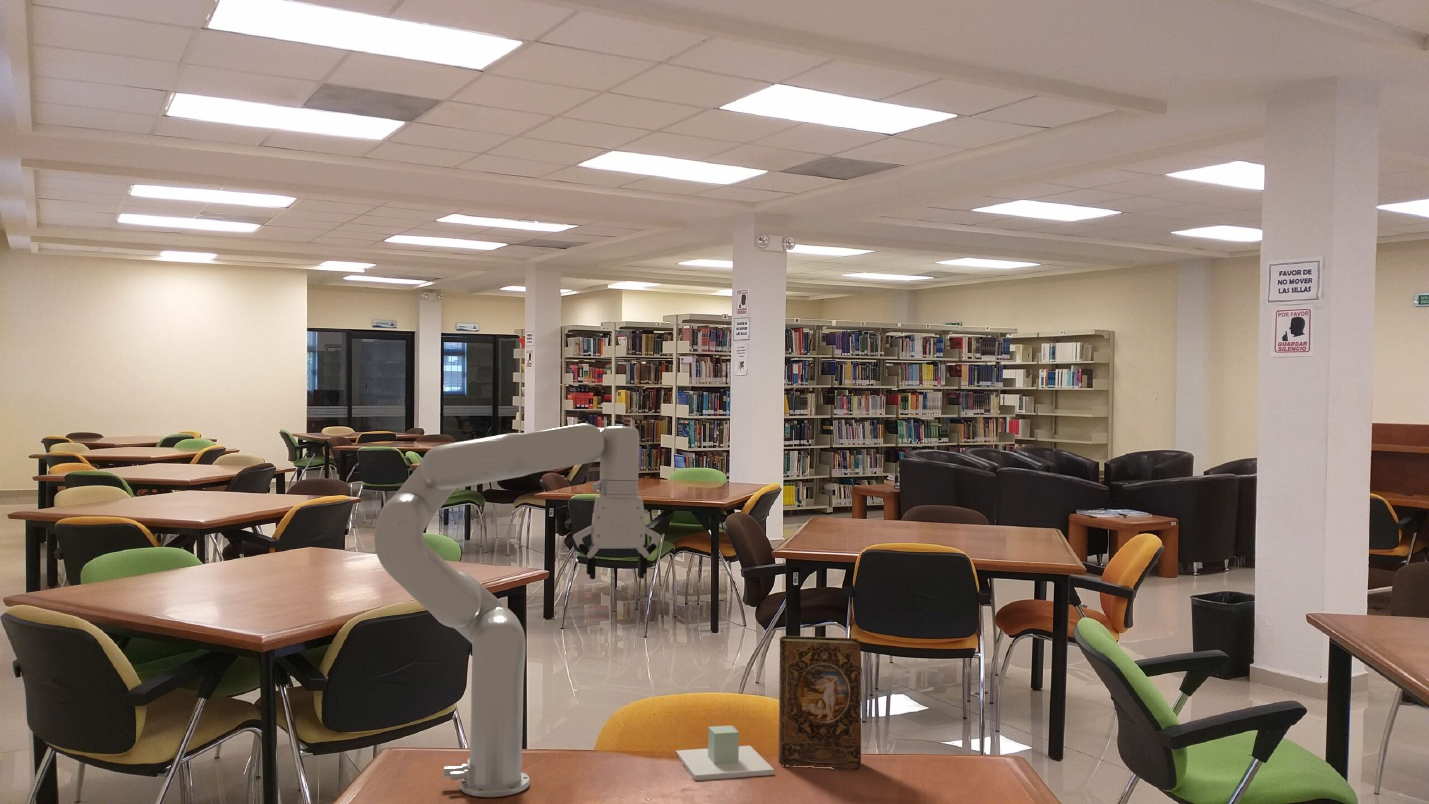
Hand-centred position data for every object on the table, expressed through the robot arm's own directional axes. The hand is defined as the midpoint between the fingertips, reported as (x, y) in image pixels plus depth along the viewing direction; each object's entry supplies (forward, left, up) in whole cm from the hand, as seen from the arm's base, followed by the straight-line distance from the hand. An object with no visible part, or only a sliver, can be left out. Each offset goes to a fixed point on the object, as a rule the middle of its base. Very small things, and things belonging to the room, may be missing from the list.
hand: (616, 578), depth 188 cm
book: (+42, -1, -38) cm, 57 cm away
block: (+23, +3, -37) cm, 44 cm away
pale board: (+23, +3, -38) cm, 45 cm away
